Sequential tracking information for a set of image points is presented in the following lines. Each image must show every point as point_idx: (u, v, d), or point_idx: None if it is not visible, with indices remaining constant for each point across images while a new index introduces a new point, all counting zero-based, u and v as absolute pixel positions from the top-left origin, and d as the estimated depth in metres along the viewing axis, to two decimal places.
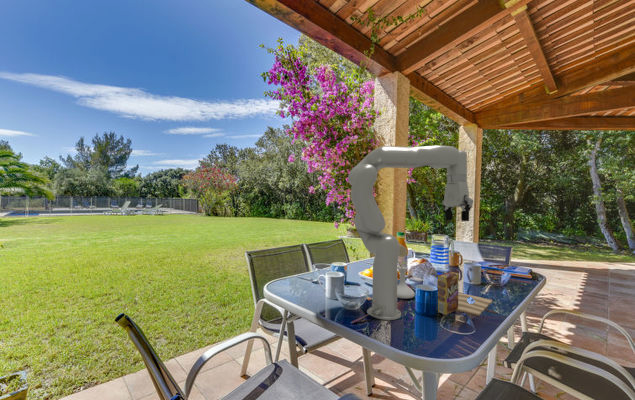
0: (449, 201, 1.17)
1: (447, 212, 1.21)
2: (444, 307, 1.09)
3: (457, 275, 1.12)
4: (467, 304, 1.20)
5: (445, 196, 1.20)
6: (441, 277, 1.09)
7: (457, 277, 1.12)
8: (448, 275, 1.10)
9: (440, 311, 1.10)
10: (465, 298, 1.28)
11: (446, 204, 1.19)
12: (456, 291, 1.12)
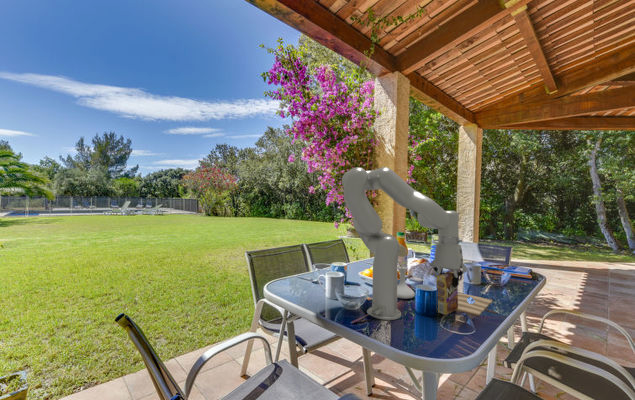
0: None
1: None
2: (444, 307, 1.09)
3: None
4: (467, 304, 1.20)
5: None
6: (440, 277, 1.10)
7: None
8: (447, 275, 1.10)
9: (440, 311, 1.10)
10: (465, 298, 1.28)
11: None
12: (455, 291, 1.12)
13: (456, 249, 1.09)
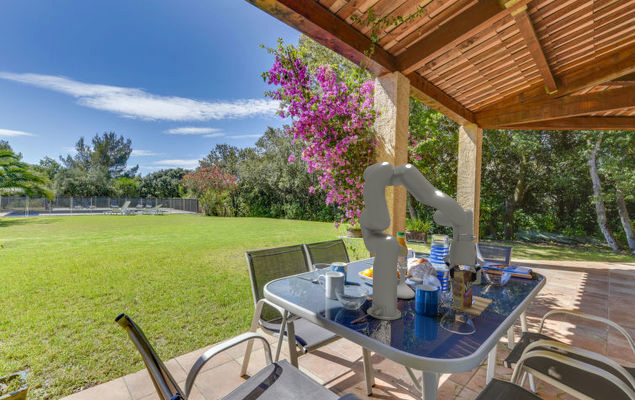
0: None
1: None
2: (460, 302, 1.13)
3: None
4: None
5: None
6: (458, 273, 1.14)
7: None
8: (464, 272, 1.15)
9: (456, 306, 1.14)
10: None
11: None
12: (471, 288, 1.17)
13: (471, 246, 1.13)
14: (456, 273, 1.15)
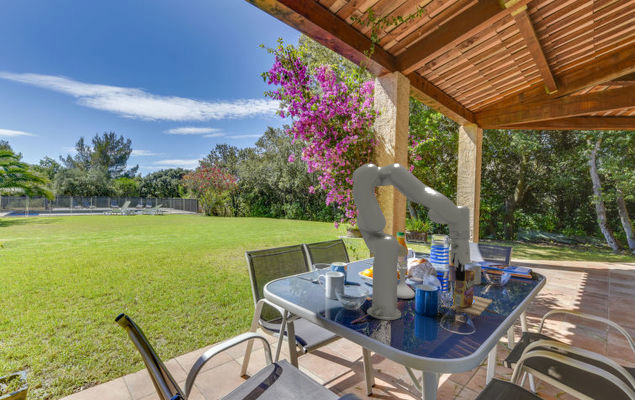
0: (466, 259, 1.11)
1: None
2: (461, 299, 1.13)
3: (474, 272, 1.18)
4: None
5: (464, 253, 1.09)
6: None
7: (474, 274, 1.18)
8: (466, 269, 1.16)
9: (456, 303, 1.14)
10: None
11: (465, 262, 1.09)
12: (472, 287, 1.17)
13: (451, 243, 1.12)
14: None
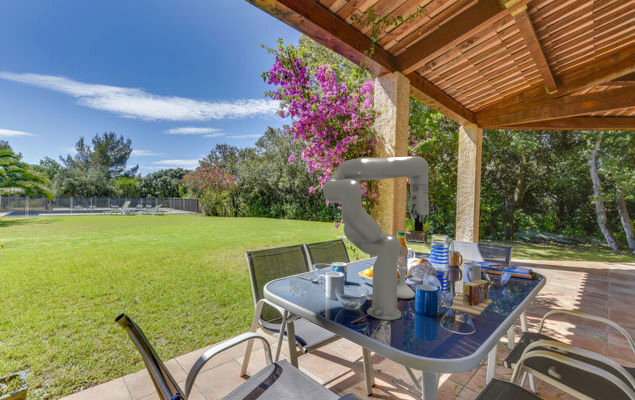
0: (424, 210, 1.18)
1: None
2: (474, 284, 1.20)
3: (487, 298, 1.26)
4: None
5: (421, 204, 1.17)
6: (483, 280, 1.28)
7: (487, 298, 1.25)
8: None
9: (467, 284, 1.20)
10: None
11: (422, 213, 1.17)
12: (481, 299, 1.22)
13: None
14: (481, 280, 1.28)
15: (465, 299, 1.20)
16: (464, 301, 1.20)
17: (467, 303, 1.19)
